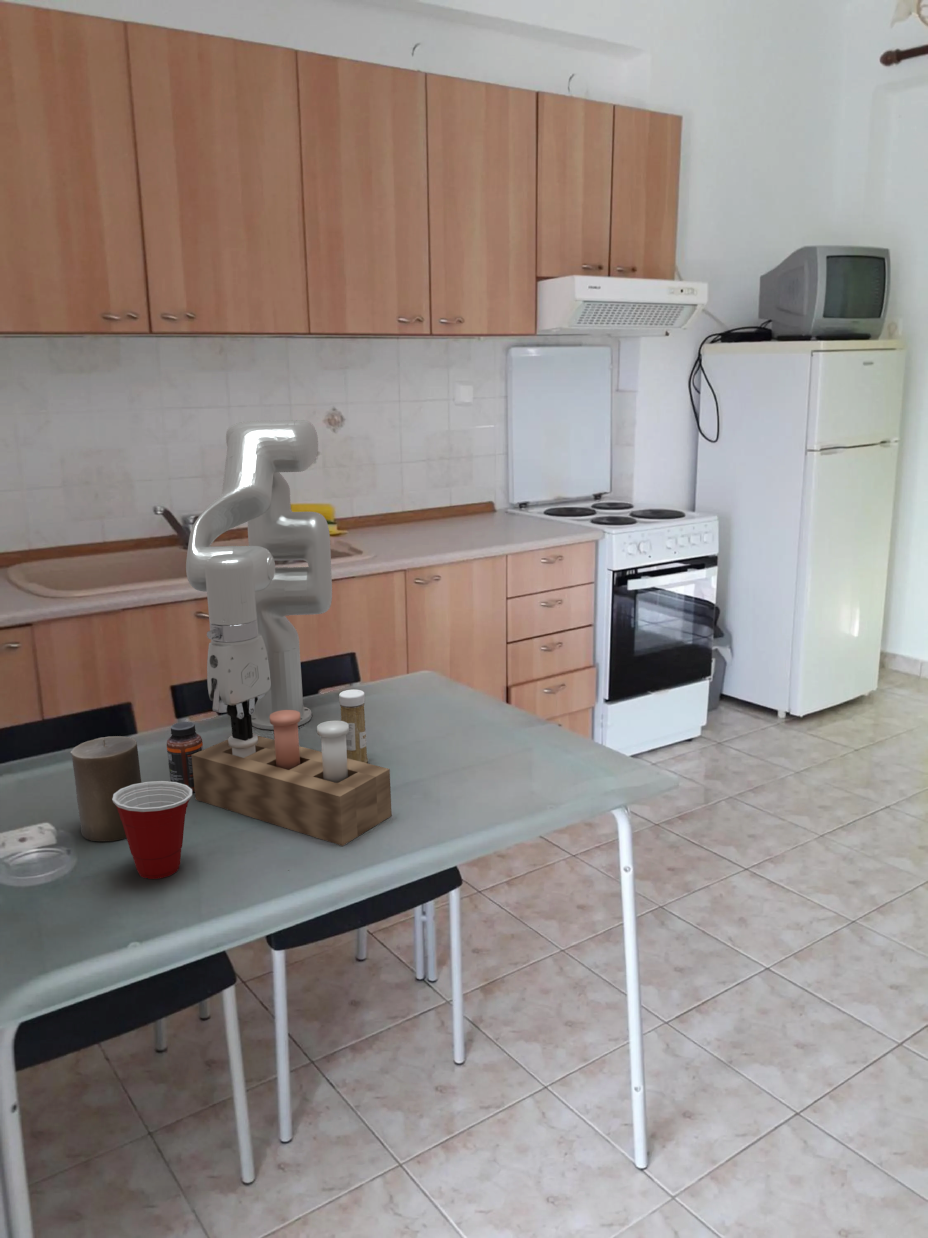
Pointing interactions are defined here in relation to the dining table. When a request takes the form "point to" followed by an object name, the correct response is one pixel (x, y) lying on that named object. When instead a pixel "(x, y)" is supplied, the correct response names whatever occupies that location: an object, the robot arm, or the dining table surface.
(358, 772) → the socket board
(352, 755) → the sprinkles bottle
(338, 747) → the grey plug
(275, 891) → the dining table surface
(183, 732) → the supplement bottle
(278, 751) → the brick plug
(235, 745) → the grey plug
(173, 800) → the plastic cup
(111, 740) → the pillar candle
